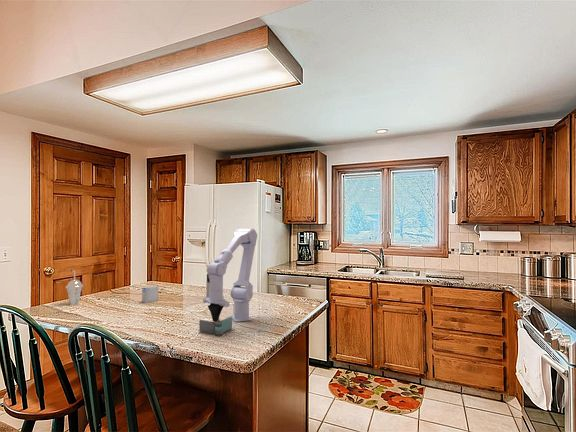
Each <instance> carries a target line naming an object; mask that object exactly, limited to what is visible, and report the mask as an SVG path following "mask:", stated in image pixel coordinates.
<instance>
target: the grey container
mask: <svg viewBox="0 0 576 432" xmlns="http://www.w3.org/2000/svg"><path fill="white" fill-rule="evenodd" d="M205 283H206V289H205V291H206V292H205V293H206V294H205V295H206V296H205V298H206V297H207V298H209V290H210V279H209V275H208V273H207V274H206V282H205Z"/></svg>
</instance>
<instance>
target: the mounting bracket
mask: <svg viewBox="0 0 576 432" xmlns="http://www.w3.org/2000/svg"><path fill="white" fill-rule="evenodd" d="M255 329H256V332H258V333H261V332H268V331H270V329H271V328H269V327H264V326H258V327H256V328H255Z"/></svg>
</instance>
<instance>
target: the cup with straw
mask: <svg viewBox="0 0 576 432" xmlns="http://www.w3.org/2000/svg"><path fill="white" fill-rule="evenodd" d="M70 271H71V272H73V279H72V280H70V281H69V282H68V283H67V284H66V286H65V289H66V291H67V295H68V304H69V306H77V305H79V304H80V300H81V299H80V298H81V292H82V289H83V287H84V284H82V282H81V281H80V280H78V279H76V270H73V269H71V270H70Z"/></svg>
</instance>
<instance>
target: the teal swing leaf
mask: <svg viewBox="0 0 576 432" xmlns="http://www.w3.org/2000/svg"><path fill="white" fill-rule="evenodd" d="M232 316H233V315H231V316H229V317H226V318H224V319H222V320H220V321H222V326H220V327H216V326H215V331H217V332H219V331H222V334H223V333H225V332H227V331H229V330H230V329H233V318H232Z"/></svg>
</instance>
